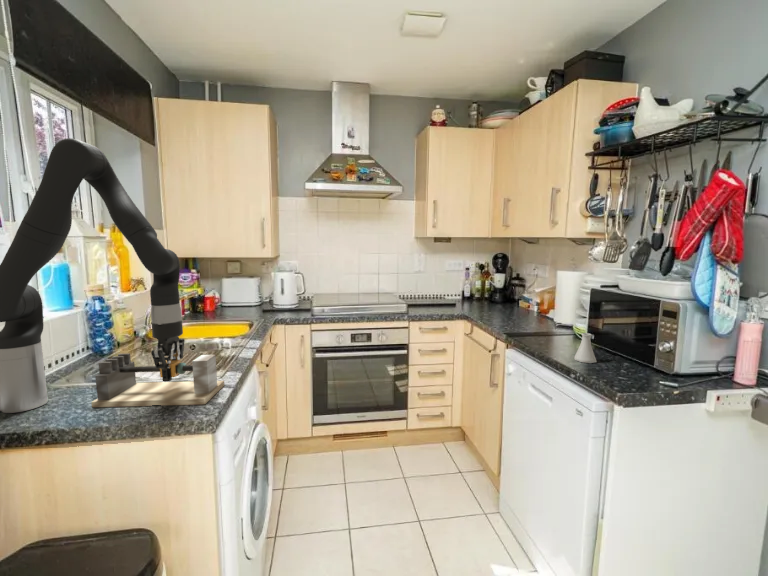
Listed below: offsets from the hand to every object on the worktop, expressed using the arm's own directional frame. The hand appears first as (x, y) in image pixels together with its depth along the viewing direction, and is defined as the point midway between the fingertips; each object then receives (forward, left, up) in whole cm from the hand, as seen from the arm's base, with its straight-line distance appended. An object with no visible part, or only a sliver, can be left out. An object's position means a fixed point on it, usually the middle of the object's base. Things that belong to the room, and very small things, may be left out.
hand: (171, 377), depth 108 cm
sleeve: (0, 0, +1) cm, 1 cm away
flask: (+136, +23, -6) cm, 138 cm away
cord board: (-3, 0, -5) cm, 6 cm away
